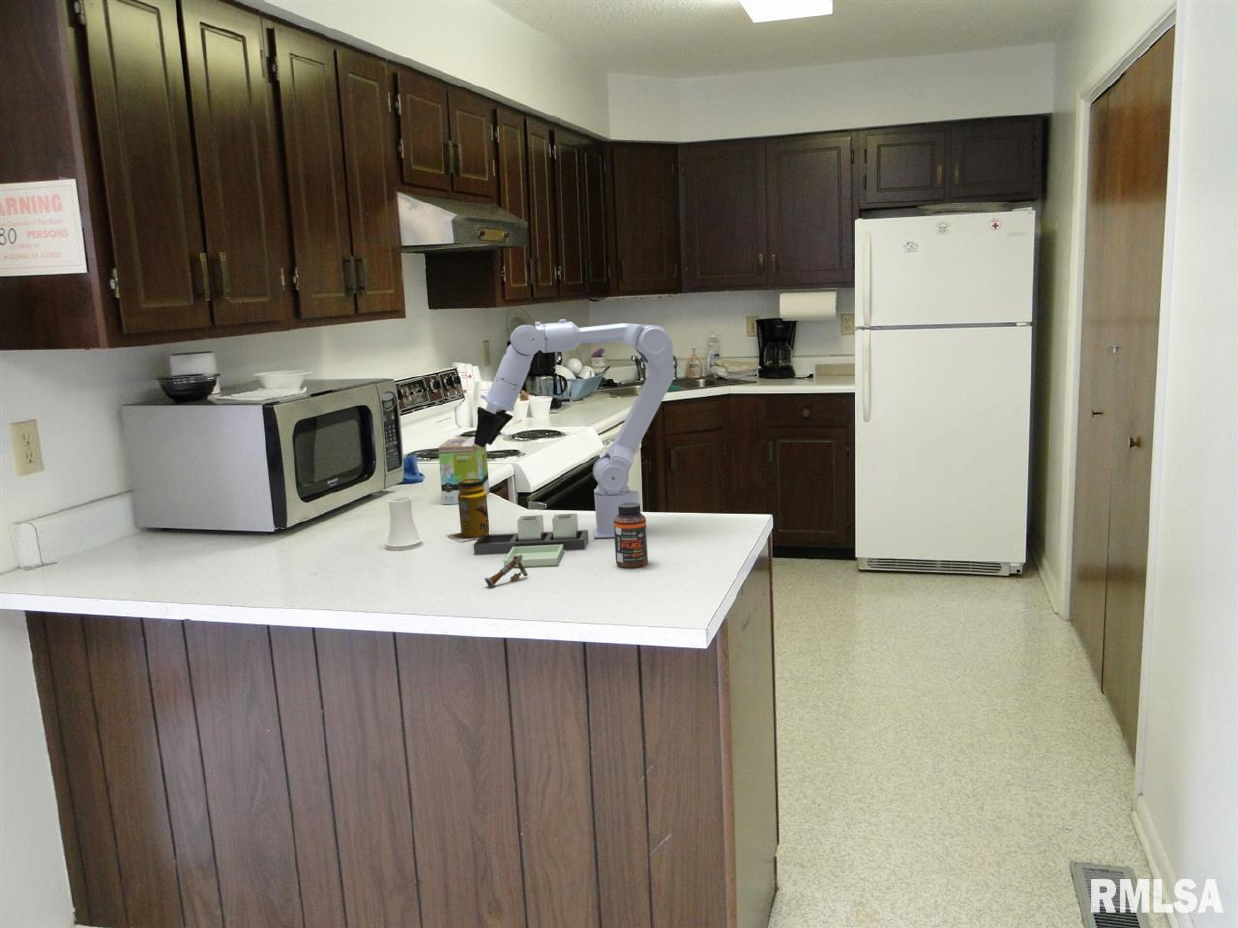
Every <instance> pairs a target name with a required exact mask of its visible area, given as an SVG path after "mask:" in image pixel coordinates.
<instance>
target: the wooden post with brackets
mask: <svg viewBox="0 0 1238 928" xmlns="http://www.w3.org/2000/svg"><path fill="white" fill-rule="evenodd" d="M513 558H514V559H512V560H513V561H511V562H510V563H509V564H508V565H506V566H504V565H503V567H502V568H501V569H500V570H499V571H498V572H497V573H496V574H494V575H493V576H491V577H485V578H484V581H485V583H486V584H487V587H491V588H493V589H495V588H496V586H495V585H496V584H497V582H499V580H501V578H502V577H503V576H506V575H507V574H508V573H509V572H510V571H512V570H513V569H514V568H513V567H516V566H515V565H516V564H517V565H518V566H519V567H516V568H515V569H519V570H520V571H519V572H517V573H515V572H514V573H513V575H511V576H510V580H509V582H511V583H513V582H516V581H518V580H520V579H521V576H522V575H523V576H524V577H527V576H528V575H529V574H528V572H527V569H526V568H524V567H523V566H522V564H521V562H520V561H522V558H523V556H522V555H519V556H518V555H517V556H514V557H513Z"/></svg>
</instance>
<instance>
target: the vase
mask: <svg viewBox="0 0 1238 928" xmlns="http://www.w3.org/2000/svg"><path fill="white" fill-rule="evenodd" d="M387 503H388V507H389V515H390V525H389V526H390V527H389V533H388V536H387V541H386V542H385V545H386V546H385V548H386V550H390V551H404V550H405V551H406V550H412V549H416V548H419V547H420V546H422V545H423V538H422V537H421V536H420V535H419V533H418V531H417V528H416V526H415V523H414V519H413V513H412V497H410V496H397V497H393V498H389V499H387Z"/></svg>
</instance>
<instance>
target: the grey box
mask: <svg viewBox="0 0 1238 928" xmlns="http://www.w3.org/2000/svg"><path fill="white" fill-rule="evenodd" d="M516 522H517V533H518V538H519V542H520V541H541V540H545V536H544V532H545V526H544V515H540V514H539V515H536V514H535V515H521V516H519V518H518V519H517V521H516Z"/></svg>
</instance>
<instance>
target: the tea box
mask: <svg viewBox="0 0 1238 928" xmlns="http://www.w3.org/2000/svg"><path fill="white" fill-rule="evenodd" d="M474 439H475V437H465V438H451V439H450V438H449V439H447V440H446V441H445V442H444V443H442V444H441V445H440V446H438V461H439V473H440V475H439V476H440V486H441V487H440V488H441V500H442V505H459V503H458V495H459V493H460V491H459V485H458V484H459V482H460V481H462V480H466V479H482V480H483V482H484V483H483V485H484V491H485V492H486V495H487V494H488V493H489V492H490V483H489V482H490V481H489V468H488V456H487V455H488V453H487V444H486V445H485V447H484V448H483V447H481V446H478V445H476V444H474Z"/></svg>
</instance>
